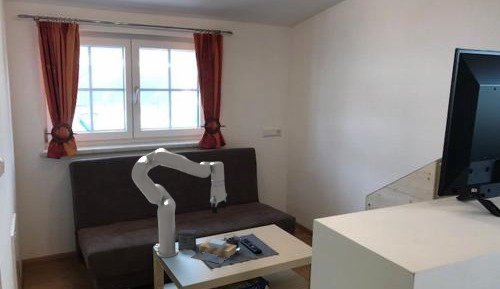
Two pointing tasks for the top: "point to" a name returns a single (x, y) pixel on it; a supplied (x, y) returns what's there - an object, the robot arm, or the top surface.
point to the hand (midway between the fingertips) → (219, 210)
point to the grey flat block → (217, 243)
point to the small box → (186, 239)
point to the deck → (224, 252)
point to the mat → (201, 257)
